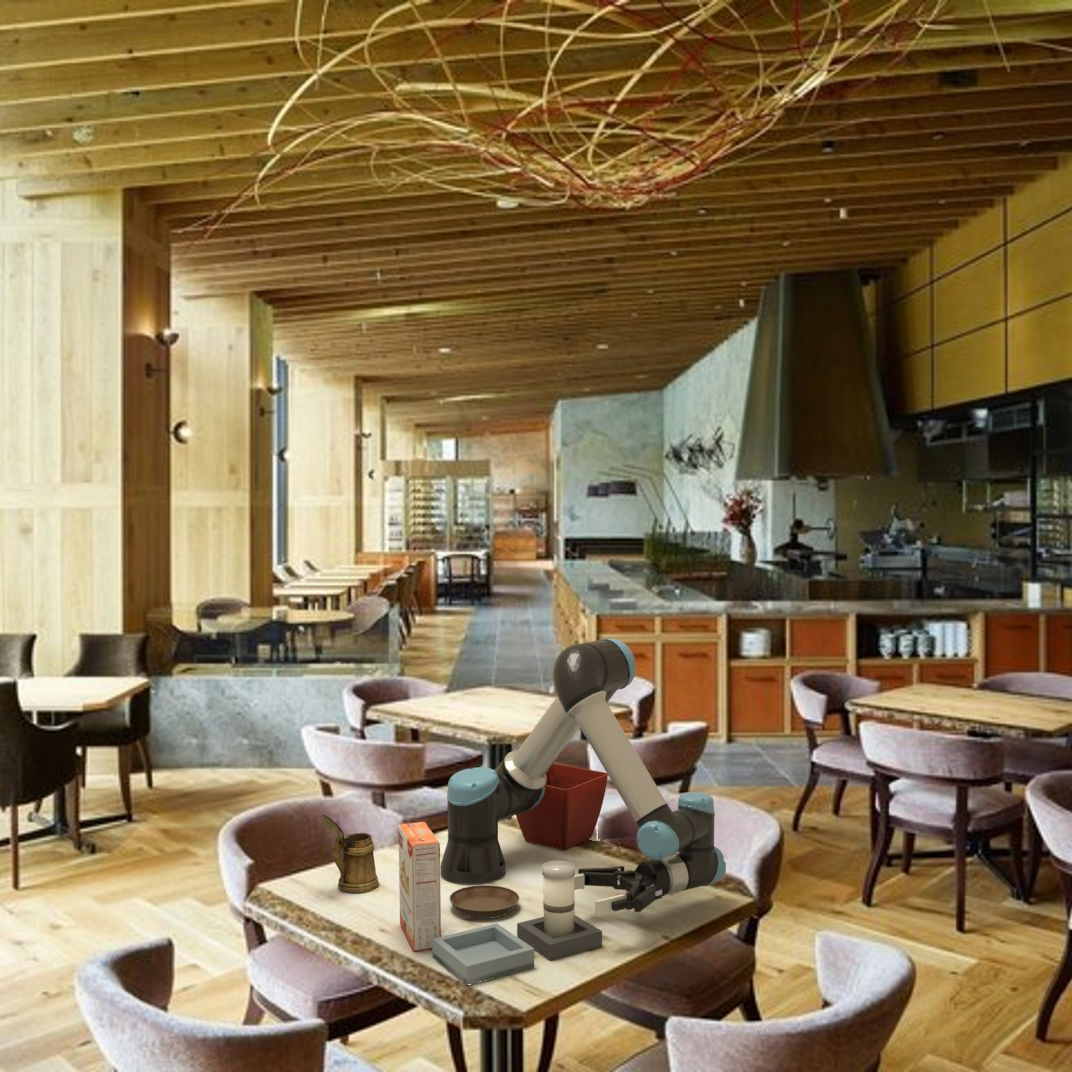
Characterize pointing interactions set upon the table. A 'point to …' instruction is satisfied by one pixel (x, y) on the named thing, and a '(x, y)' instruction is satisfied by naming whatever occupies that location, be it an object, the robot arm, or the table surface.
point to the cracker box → (419, 884)
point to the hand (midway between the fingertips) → (575, 897)
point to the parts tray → (482, 953)
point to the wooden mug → (353, 859)
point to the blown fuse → (558, 898)
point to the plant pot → (565, 808)
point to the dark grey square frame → (559, 938)
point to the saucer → (484, 901)
